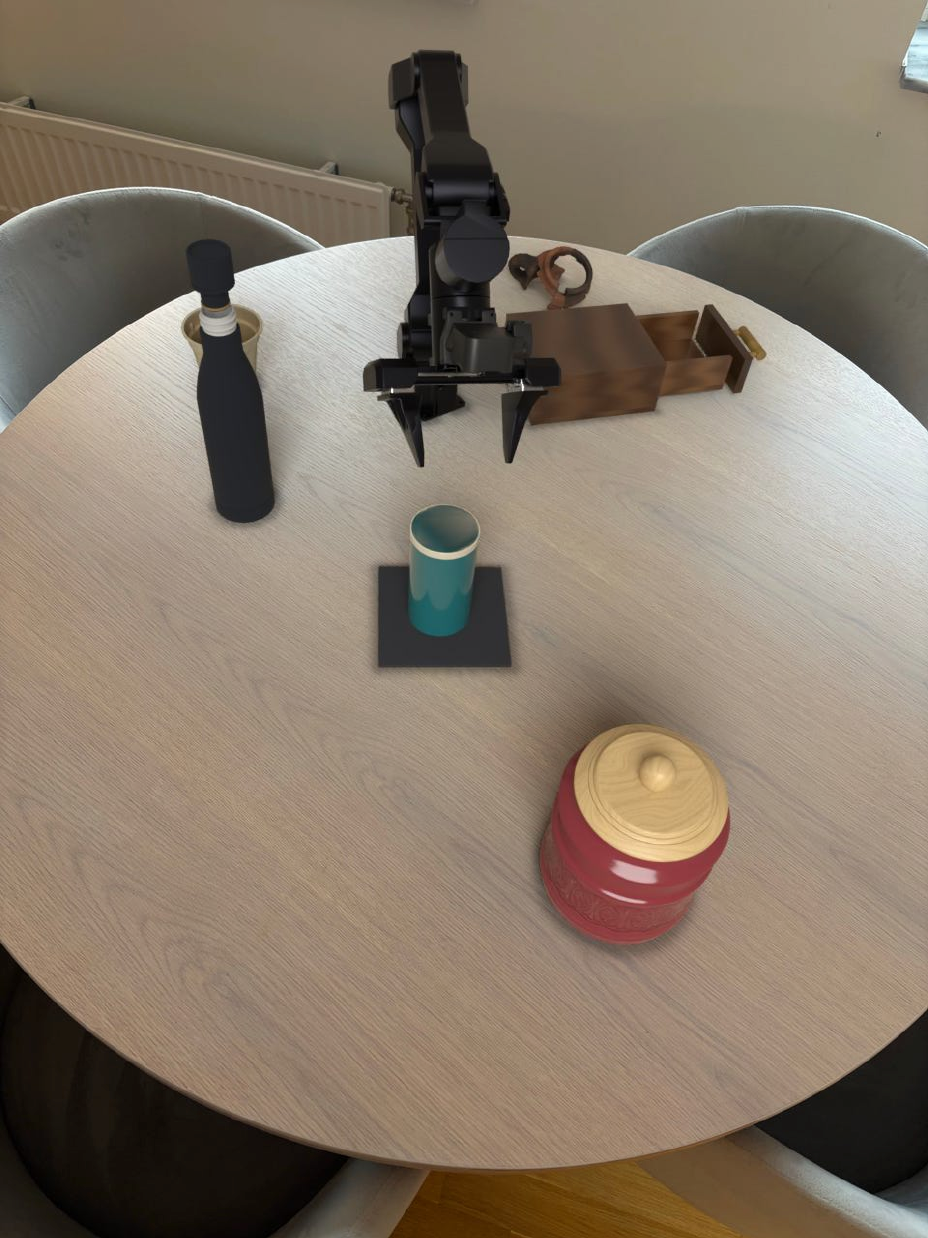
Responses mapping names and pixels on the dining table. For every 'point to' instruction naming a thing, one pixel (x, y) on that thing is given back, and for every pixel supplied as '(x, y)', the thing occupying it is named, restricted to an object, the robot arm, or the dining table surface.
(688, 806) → the kitchen canister
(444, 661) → the coaster
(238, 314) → the flower pot
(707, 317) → the drawer
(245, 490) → the black water bottle
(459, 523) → the tumbler
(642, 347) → the cabinet
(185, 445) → the dining table surface
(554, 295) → the brown ring sculpture
